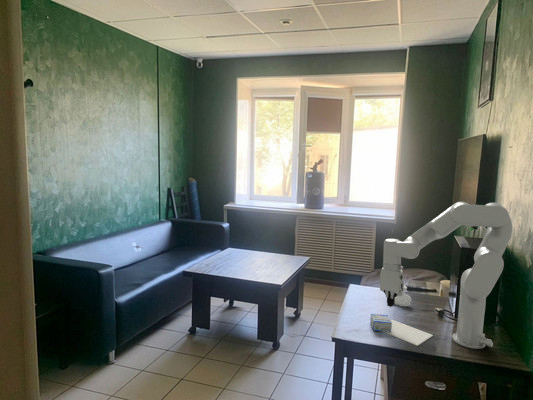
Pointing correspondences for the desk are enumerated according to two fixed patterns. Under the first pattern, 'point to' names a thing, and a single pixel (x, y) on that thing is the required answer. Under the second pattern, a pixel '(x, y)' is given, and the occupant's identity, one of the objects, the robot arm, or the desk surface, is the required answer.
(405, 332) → the mat
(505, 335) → the desk surface
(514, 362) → the desk surface
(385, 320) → the medicine box
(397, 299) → the bust
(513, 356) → the desk surface
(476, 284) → the robot arm
